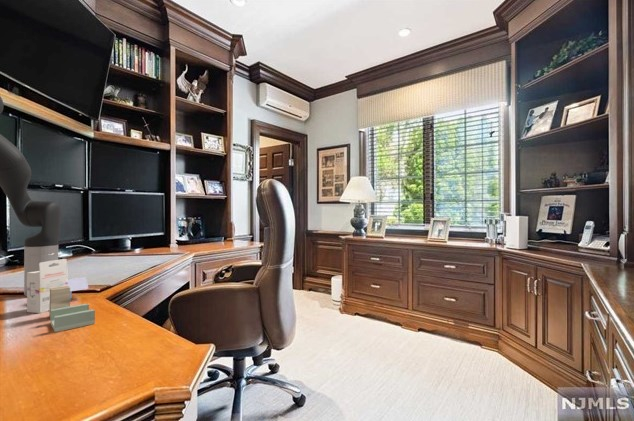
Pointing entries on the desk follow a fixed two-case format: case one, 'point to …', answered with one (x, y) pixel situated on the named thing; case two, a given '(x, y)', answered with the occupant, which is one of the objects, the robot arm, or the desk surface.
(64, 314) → the sage green grooved bar
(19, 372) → the desk surface
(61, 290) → the birch block
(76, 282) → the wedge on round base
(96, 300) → the desk surface
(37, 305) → the ink cartridge box
